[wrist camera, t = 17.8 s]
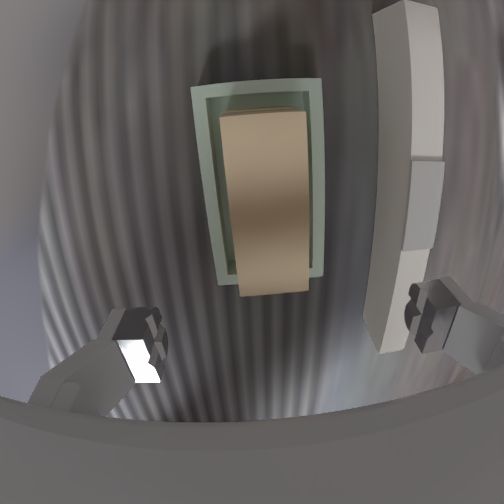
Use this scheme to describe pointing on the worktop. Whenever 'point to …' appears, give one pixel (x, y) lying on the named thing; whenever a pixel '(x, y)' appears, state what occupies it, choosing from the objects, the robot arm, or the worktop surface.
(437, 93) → the door edge
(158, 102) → the worktop surface
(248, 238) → the bar
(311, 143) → the pale green tray
